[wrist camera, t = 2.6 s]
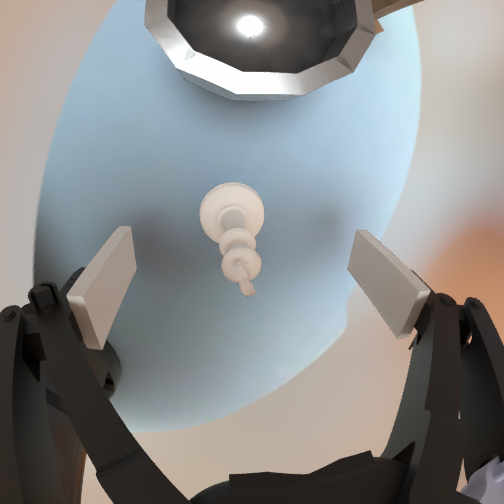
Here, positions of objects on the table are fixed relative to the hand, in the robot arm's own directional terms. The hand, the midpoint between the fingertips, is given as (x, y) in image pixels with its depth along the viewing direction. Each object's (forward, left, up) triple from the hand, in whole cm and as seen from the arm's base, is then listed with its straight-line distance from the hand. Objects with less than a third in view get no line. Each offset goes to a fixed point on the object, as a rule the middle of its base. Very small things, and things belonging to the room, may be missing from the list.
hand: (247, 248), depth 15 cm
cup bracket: (+9, +10, +1) cm, 14 cm away
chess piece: (0, 0, -6) cm, 6 cm away
